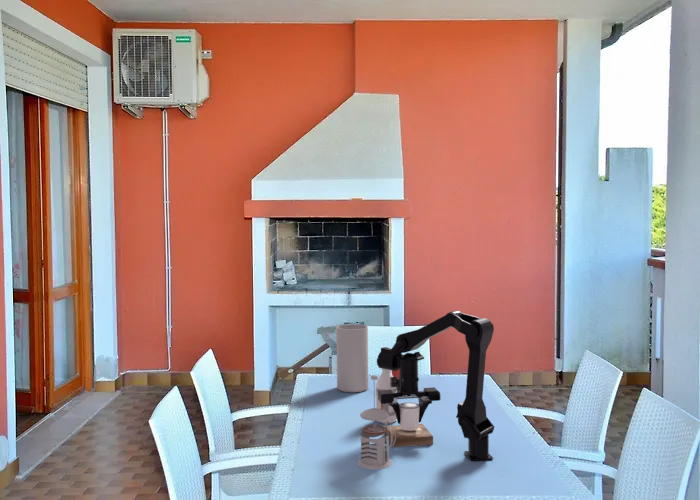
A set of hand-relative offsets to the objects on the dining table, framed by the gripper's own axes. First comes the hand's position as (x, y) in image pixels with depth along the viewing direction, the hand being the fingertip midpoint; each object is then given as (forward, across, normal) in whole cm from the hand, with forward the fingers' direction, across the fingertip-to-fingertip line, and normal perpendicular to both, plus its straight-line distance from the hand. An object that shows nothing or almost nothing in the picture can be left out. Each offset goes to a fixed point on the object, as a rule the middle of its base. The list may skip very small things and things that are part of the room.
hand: (409, 422), depth 204 cm
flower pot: (+5, -12, -56) cm, 58 cm away
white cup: (+2, 0, 0) cm, 2 cm away
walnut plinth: (+5, 0, 0) cm, 5 cm away
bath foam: (+5, +3, -19) cm, 20 cm away
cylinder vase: (+5, +8, -61) cm, 62 cm away
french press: (+5, +14, +18) cm, 23 cm away
